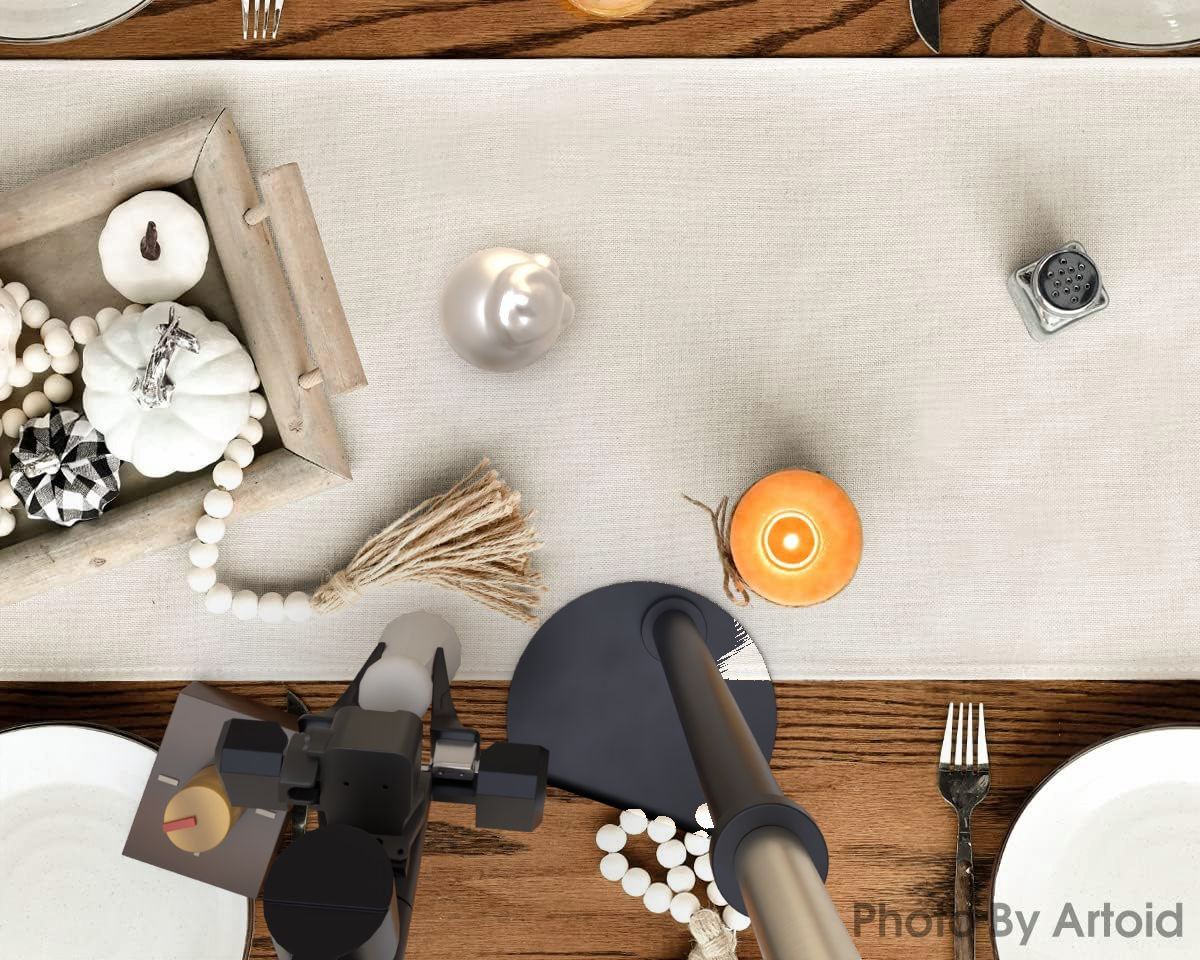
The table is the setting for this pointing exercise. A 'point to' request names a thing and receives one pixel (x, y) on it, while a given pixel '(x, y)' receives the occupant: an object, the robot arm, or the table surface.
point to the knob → (200, 813)
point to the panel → (177, 761)
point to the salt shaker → (409, 663)
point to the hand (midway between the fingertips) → (412, 647)
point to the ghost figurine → (504, 308)
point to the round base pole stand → (679, 748)
